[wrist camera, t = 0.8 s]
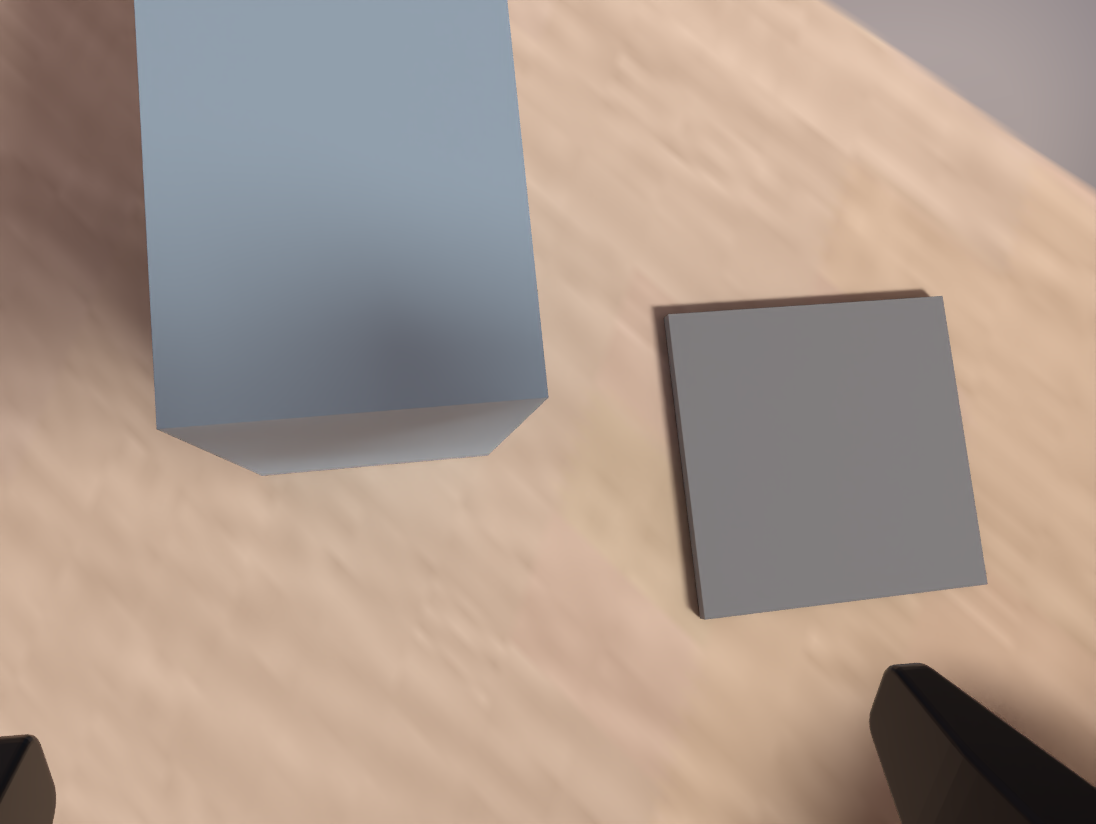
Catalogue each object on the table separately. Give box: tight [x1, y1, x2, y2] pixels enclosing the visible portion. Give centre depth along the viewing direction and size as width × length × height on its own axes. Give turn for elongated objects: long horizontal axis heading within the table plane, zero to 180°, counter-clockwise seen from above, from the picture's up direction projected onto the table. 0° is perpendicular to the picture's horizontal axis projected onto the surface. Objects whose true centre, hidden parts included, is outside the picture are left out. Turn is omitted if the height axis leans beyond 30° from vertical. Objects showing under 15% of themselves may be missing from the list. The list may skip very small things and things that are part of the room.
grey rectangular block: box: [134, 0, 548, 476], centre depth 19 cm, size 8×6×10 cm
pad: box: [664, 296, 988, 619], centre depth 25 cm, size 8×8×1 cm
